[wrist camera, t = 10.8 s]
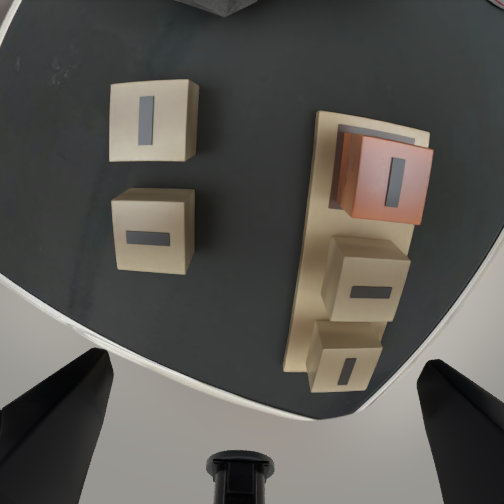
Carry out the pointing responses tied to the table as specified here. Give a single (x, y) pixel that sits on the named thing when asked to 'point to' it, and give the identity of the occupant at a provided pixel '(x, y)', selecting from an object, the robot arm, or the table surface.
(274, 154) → the table surface
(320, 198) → the pattern board
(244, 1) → the potted plant
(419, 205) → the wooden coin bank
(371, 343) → the right tiles
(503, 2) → the pill bottle
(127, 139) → the left tiles
